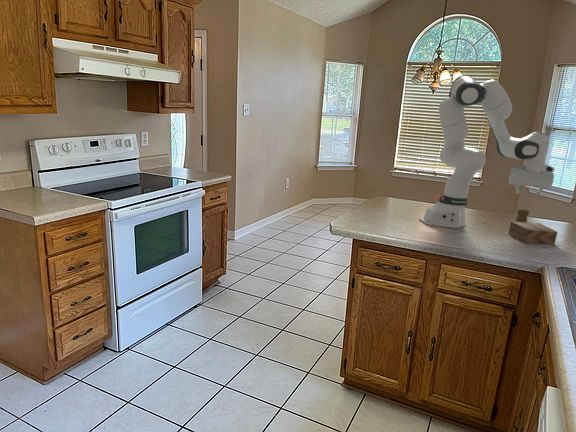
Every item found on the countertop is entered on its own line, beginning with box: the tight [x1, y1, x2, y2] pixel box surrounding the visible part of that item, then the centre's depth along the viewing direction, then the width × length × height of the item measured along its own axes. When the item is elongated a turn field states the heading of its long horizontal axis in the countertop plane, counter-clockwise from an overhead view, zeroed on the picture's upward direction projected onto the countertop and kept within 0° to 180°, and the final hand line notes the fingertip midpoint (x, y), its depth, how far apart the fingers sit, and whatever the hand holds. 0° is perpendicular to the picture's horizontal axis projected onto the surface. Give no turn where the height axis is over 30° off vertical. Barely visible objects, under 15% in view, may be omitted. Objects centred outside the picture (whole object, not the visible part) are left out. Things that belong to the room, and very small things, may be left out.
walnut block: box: [508, 221, 558, 245], centre depth 197 cm, size 14×14×6 cm
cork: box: [514, 208, 530, 222], centre depth 210 cm, size 6×6×11 cm
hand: (527, 194), depth 207 cm, fingers open, 8 cm apart
